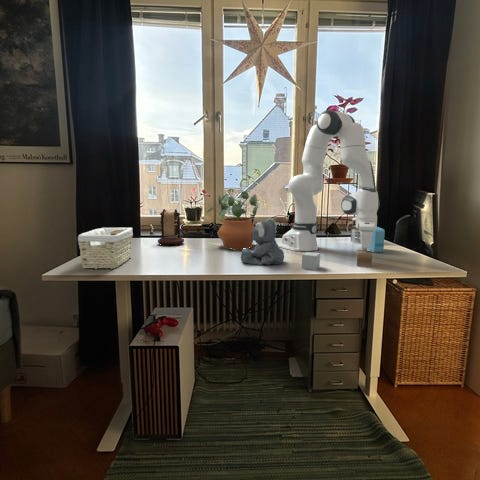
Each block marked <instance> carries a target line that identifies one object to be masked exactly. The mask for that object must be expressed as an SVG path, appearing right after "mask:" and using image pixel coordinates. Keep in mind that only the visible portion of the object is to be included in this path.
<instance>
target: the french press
mask: <svg viewBox="0 0 480 480" xmlns="http://www.w3.org/2000/svg"><path fill="white" fill-rule="evenodd" d="M351 220H352V221H349V222H348V223H347V225H346V227H349V226H350V224H351V225H352V228H351V233H350V232H349V228H346V232H347V233H348V234H349V235H350V241H349V242H348V243H349V244H351V243H352V244H351V245H361V241H360V232H359V231H358V230H359V229H358V228H356V224H354V222H353V221H355V222H356V216H355V217H353V218H351Z"/></svg>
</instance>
